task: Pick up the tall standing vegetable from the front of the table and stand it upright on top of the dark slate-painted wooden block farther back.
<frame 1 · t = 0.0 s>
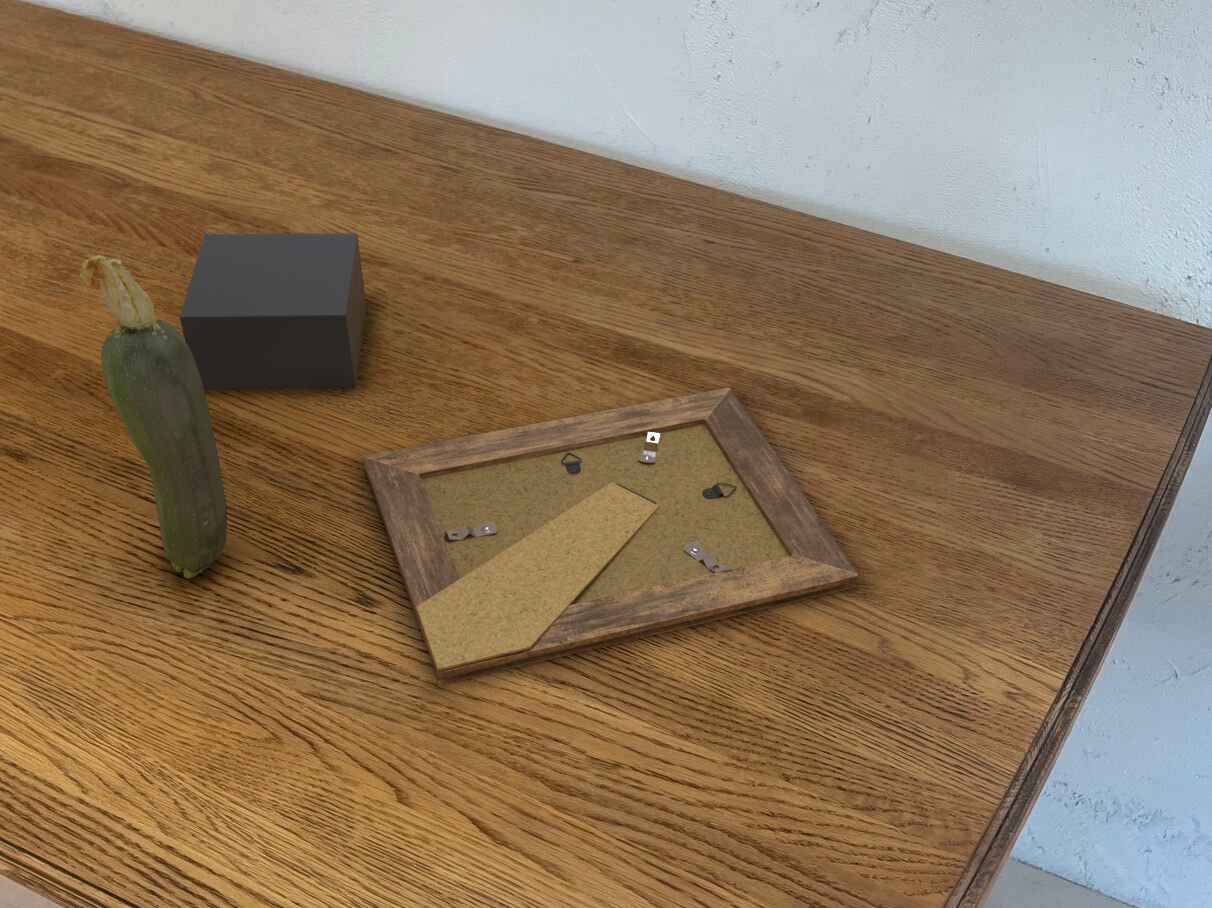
vegetable: (207, 581, 75), on the table
block: (286, 353, 90), on the table
picture frame: (600, 536, 79), on the table
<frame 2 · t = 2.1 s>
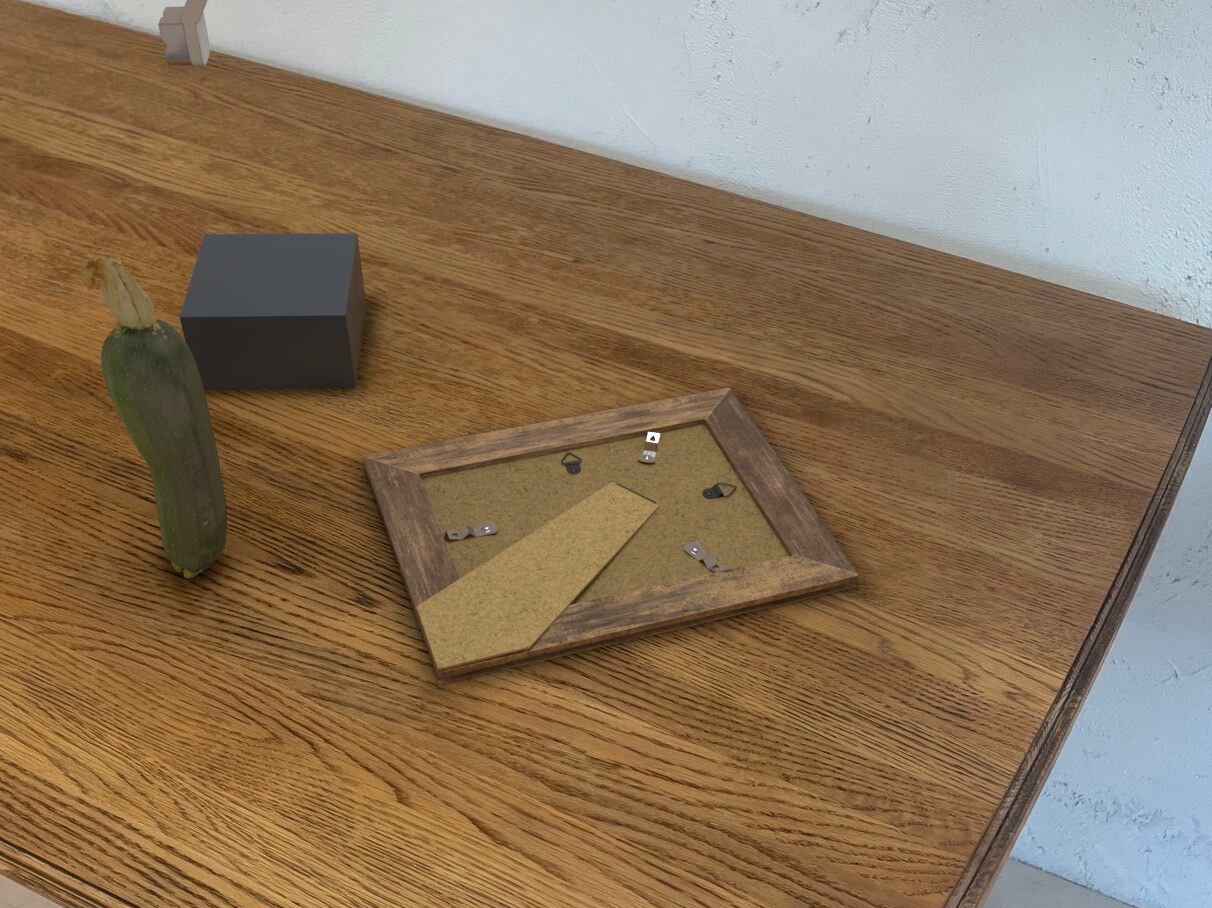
hand: (70, 60, 54), 28 cm above the table, tool pointing down, fingers open, 8 cm apart
nothing on the table moved.
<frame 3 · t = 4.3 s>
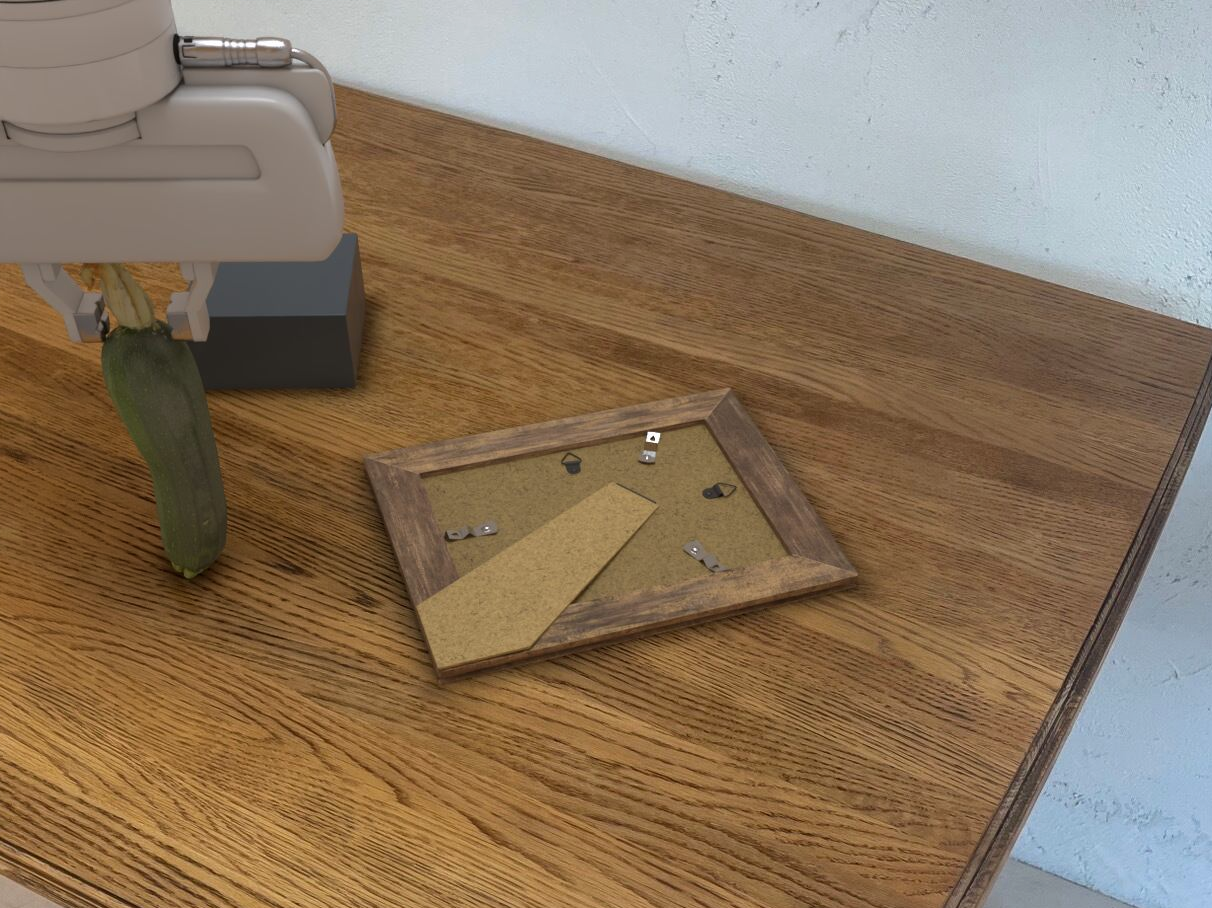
hand: (141, 335, 64), 16 cm above the table, tool pointing down, fingers closed on vegetable, 3 cm apart
vegetable: (207, 581, 75), on the table, touching gripper
everything else where it was.
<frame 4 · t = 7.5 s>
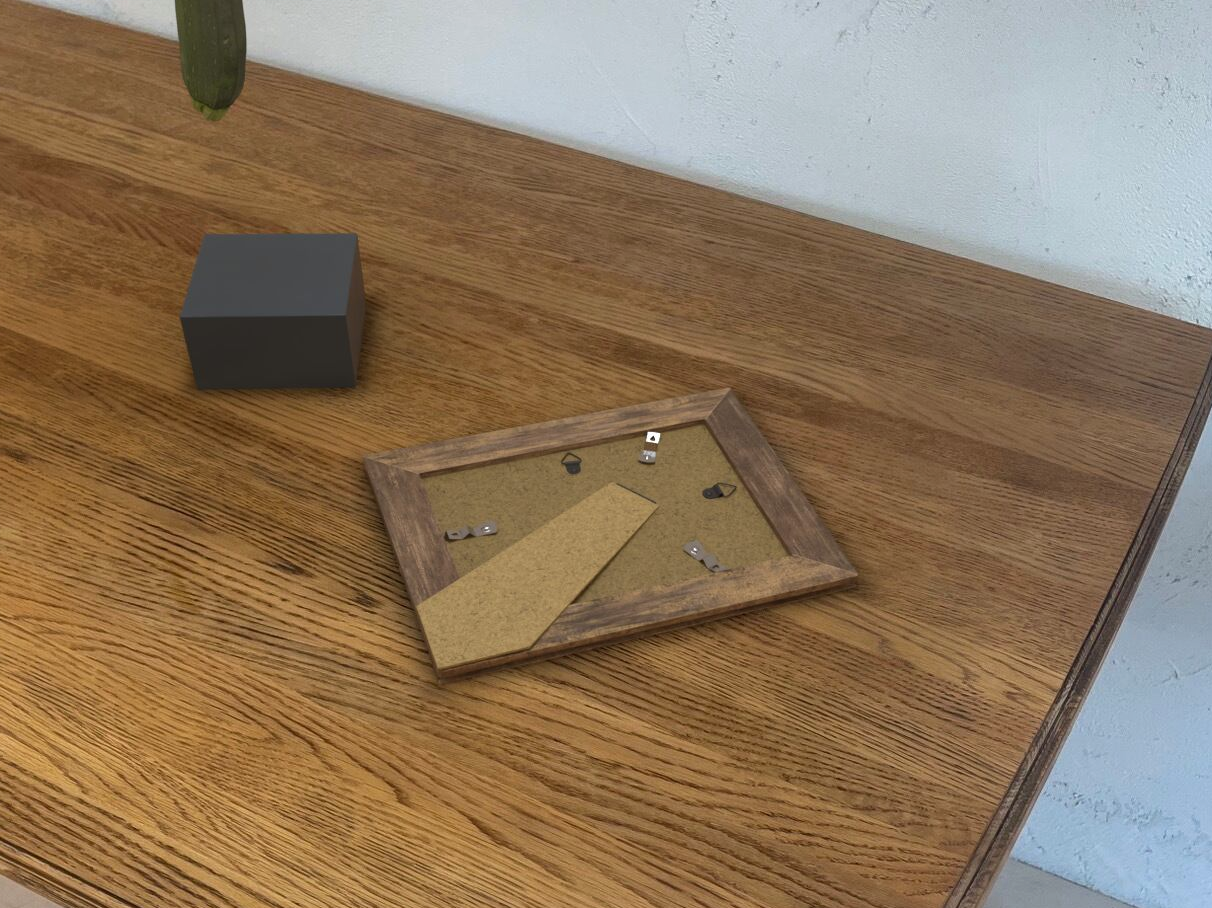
vegetable: (226, 126, 76), point 17 cm above the table, touching gripper
everything else where it was.
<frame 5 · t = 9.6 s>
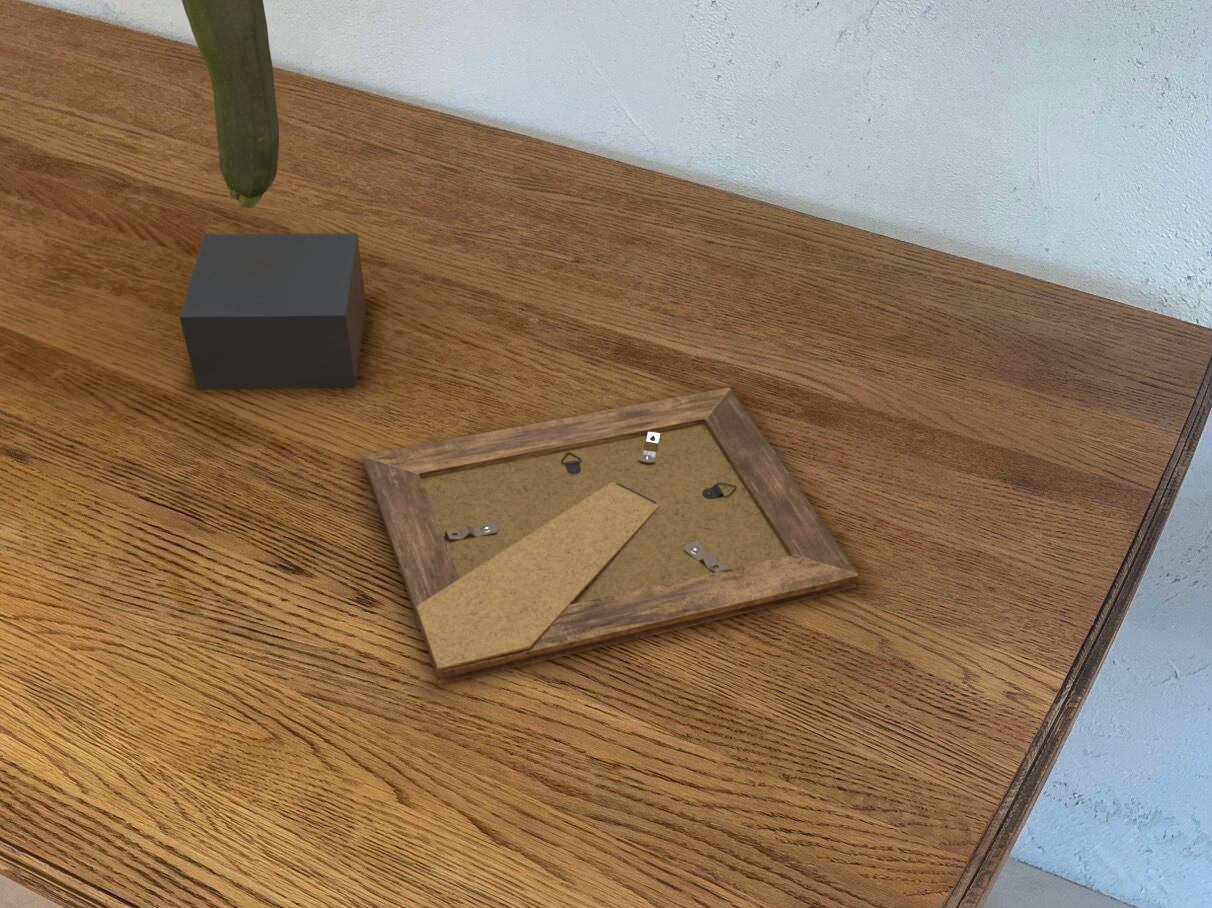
vegetable: (259, 212, 83), point 10 cm above the table, touching gripper
everything else where it was.
when the fingers open (22 cm above the table, at t = 11.2 s): vegetable stays where it is, resting on block.
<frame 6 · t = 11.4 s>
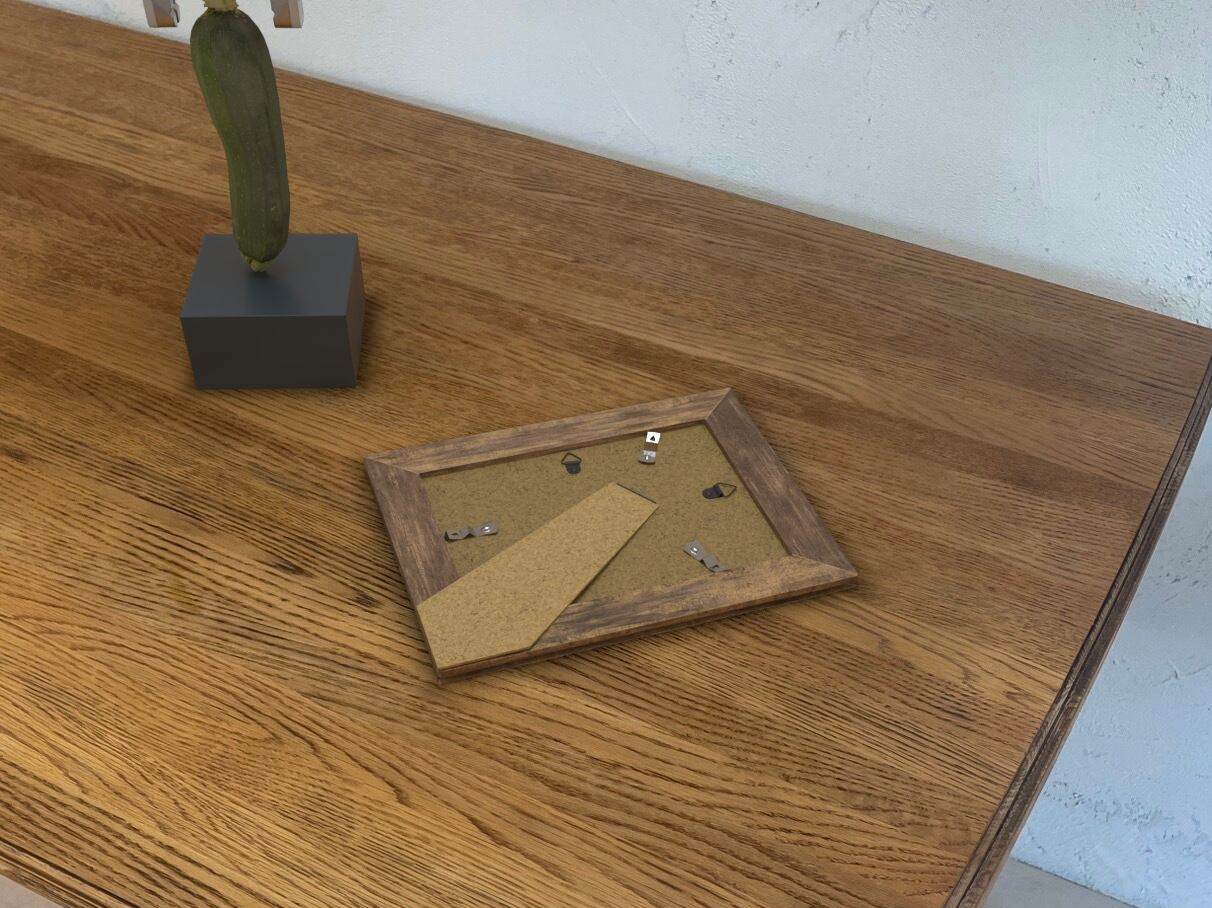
hand: (227, 24, 75), 21 cm above the table, tool pointing down, fingers open, 5 cm apart
vegetable: (271, 275, 86), point 6 cm above the table, touching block
everything else where it was.
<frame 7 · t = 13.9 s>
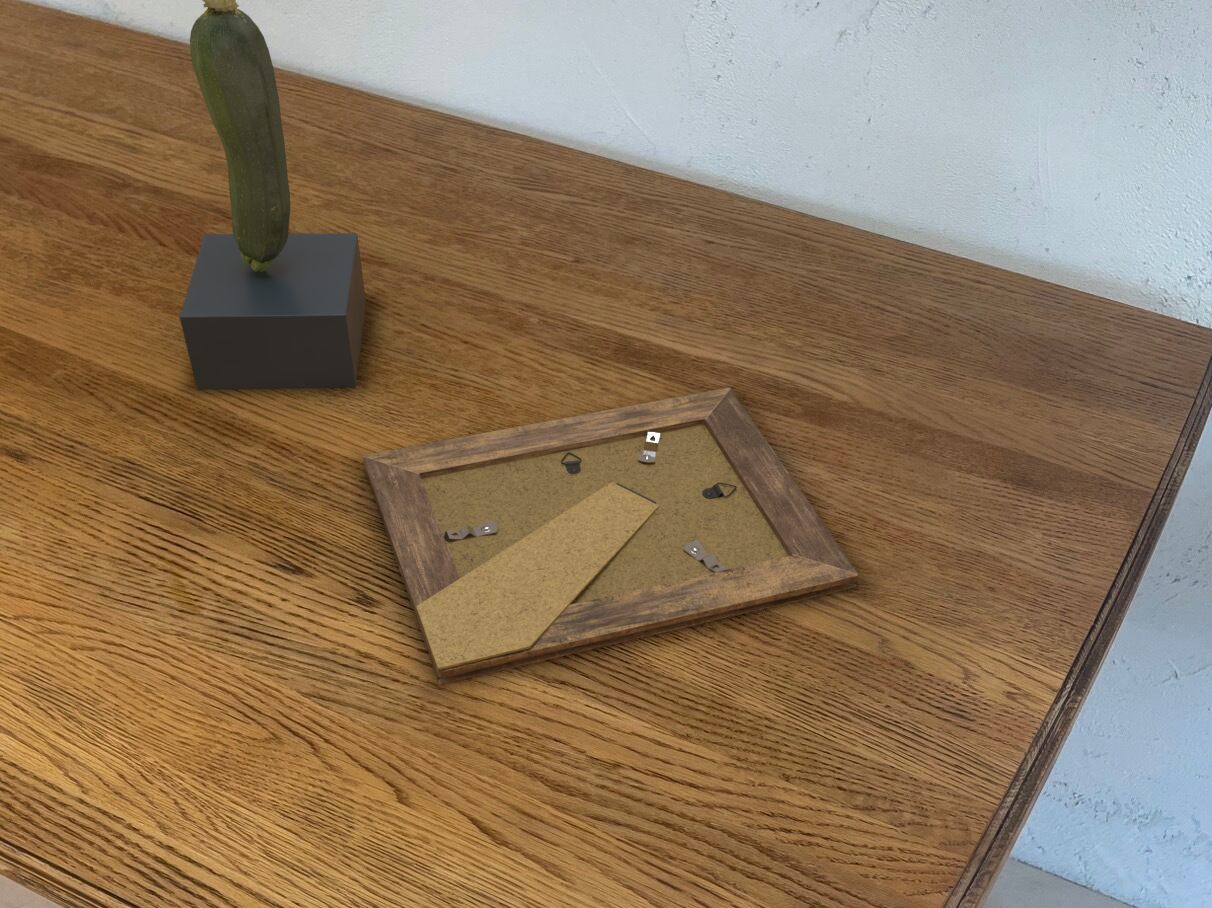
nothing on the table moved.
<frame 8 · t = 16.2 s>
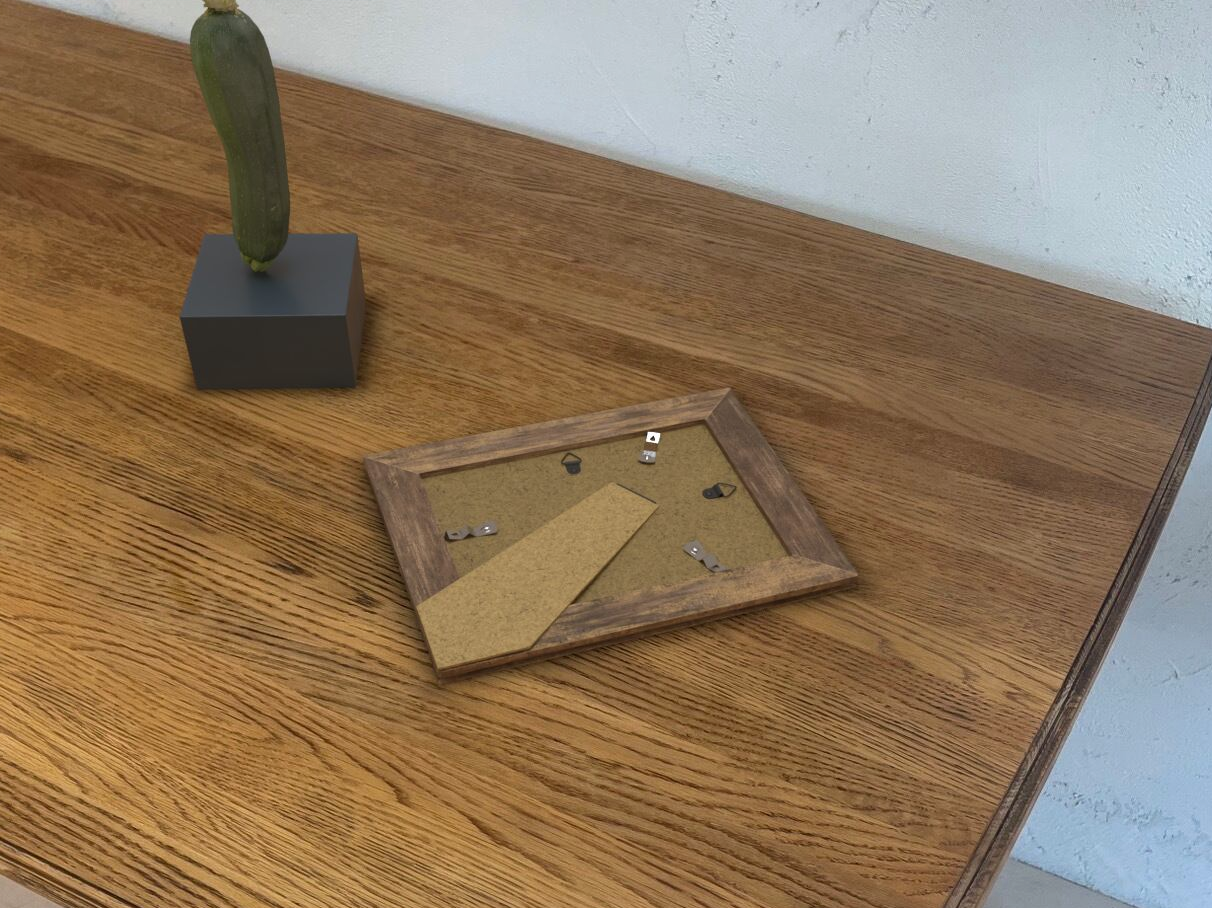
nothing on the table moved.
at the end: vegetable inside the target area on the block (0.1 cm from its centre), point 5.8 cm above the block's base; vegetable tilted 0°; the gripper is holding nothing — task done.
